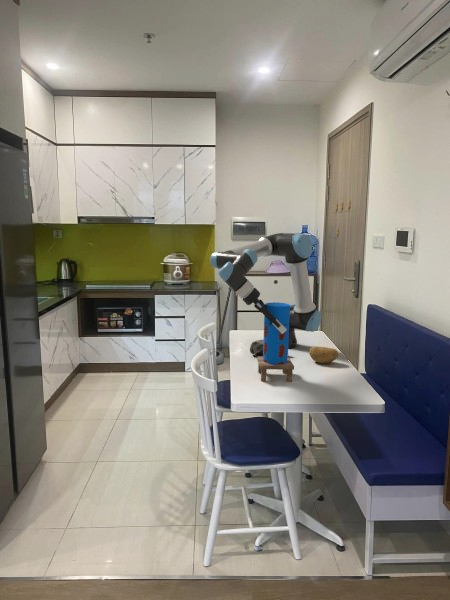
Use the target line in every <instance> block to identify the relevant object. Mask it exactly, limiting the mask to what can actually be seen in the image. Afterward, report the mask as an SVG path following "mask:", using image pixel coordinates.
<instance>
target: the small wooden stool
mask: <svg viewBox="0 0 450 600" xmlns="http://www.w3.org/2000/svg"><path fill="white" fill-rule="evenodd" d="M256 359H257V363H258V364H257V365H258V368H257V373H258V374H260V382H267V370H281V371H282V374H286V382H289V383H292V382H293V371H294V370H295V366H294V364H293V362H292V361H291V359H290V357H289V356H288V358H287V363H285V364H280V365H274V364H268V363H265V362H264V361H263V356H257V357H256Z"/></svg>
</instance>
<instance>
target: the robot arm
mask: <svg viewBox="0 0 450 600" xmlns="http://www.w3.org/2000/svg"><path fill="white" fill-rule="evenodd" d="M312 250H313V243H312V240H311V238H310V236H308V235H307V234H305V233H299V232H295V233H291V232H290V233H288V232H287V233H286V232H285V233H284V232H279V233H278V232H277V233H274V234H271V235H267V236H263V237H260V238H259V239H258V240H257V241H253V242H251V243H248V244H245V245H242V246H241V245H240V246H239V247H236V248H232V249H229V250H225V251H215V252H213V253H212V254H211V255H210V257H209V263H210V265H211V267H212V268H214V269H218V272H217V274H218V275H219V277H220V279H222V280H223V282H225V284H226V285H227V286H228V287H229V288H231V290H233V292H234V293H235V296H236V297H237V296H238V297H239V298H240V299H242V301H243V302H244V303H245V304H246V306H250V305H252V304H253V307H254V308H255V309H256V310H258V312H259V313H261V314H263V316H264V315H265V316H266V318H267V319H268V320H269V321H270V324H273V325H274V326H275V327H276V328H277V329H278V330H279V331H280V332H281V333H282V334H283V333H284V332H285V331H286V330H287V329H286V328H285V327H284V326H283V325H282V324H281V323H280V322H279V321H278V320H277V319H276V318H275V317H274V316H273V315H272V314H271V313H270V312H269V311H268V310H267V307H266V306H265V304H266V303H265V302H264V300H262V299H259V297H260V296H261V292H260V291H259V290H258V289H257V288H256V287H255V286H254V285H253V283H252V282H250V280H249V279H247V277H246V275H247V274H248V273H249V272H251V270H252V269H253V268H254V266H255V265H256V264H257V262H258V261H259V260H258V259H259V258H260V257H269V256H271V257H272V256H275V257H276V256H277V257H284V260H285V263H286V264H288V265H289V272H290V277H291V284H292V290H293V296H294V302H295V303H288V304H289V305H290V319H289V342H288V349H293V348H296V347H297V346H298V340H297V337H296V331H295V330H300V331H304V332H308V333H309V332H311V333H312V332H313V333H314V332H316V331H317V330H318V329H319V327H320V326H321V322H322V318H323V316H322V312H321V311H320V310H317V307H316V304H315V303H313V299H312V294H311V285H310V279H309V272H308V266H307V265H308V264H307V261H309V258H310V256H311V255H312V252H313V251H312Z"/></svg>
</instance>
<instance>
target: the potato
mask: <svg viewBox="0 0 450 600" xmlns="http://www.w3.org/2000/svg"><path fill="white" fill-rule="evenodd" d="M308 352H309V353H308V354H309V357H310V358H311V359H312V360H313V361H314V362H316V363H318V364H322V365H323V364H328V363H329V364H330V363H331V362H334V361H335V360H336V359H338V357H339V351H338V350H337V349H336V348H333V347H326V346H318V345H317V346H311V347H310V348H309V350H308Z"/></svg>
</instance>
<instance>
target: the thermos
mask: <svg viewBox="0 0 450 600" xmlns="http://www.w3.org/2000/svg"><path fill="white" fill-rule="evenodd" d="M264 304H265V306H266V307H267V310H268V311H269V312H270V313H271V314H272V315H273V316H274V317H275V318H276V319H277V320H278V321H279V322H280V323H281V324H282V325H283V326H284V327H285V328H286V329H287V330H286V331H285V332H284V333H283V334H282V333H281V332H280V331H279V330H278V329H277V328H276V327H275V326H274V325H273V324H270V321H269V320H268V319H267V318H266V316H265V315H264V314H263V317H264V318H263V339H262V340H263V361H264V362H265V363H268V364H274V365H280V364H285V363H287V358H288V357H289V348H288V342H289V319H290V305H289V304H290V303H285V302H277V301H276V302H275V301H274V302H266V303H264Z"/></svg>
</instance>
